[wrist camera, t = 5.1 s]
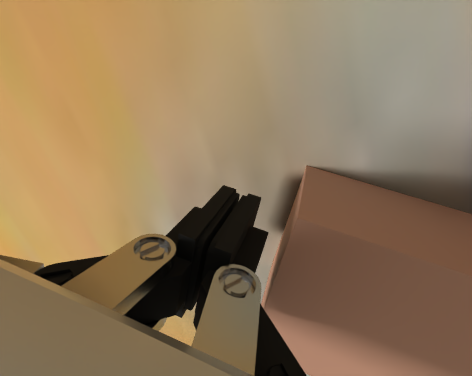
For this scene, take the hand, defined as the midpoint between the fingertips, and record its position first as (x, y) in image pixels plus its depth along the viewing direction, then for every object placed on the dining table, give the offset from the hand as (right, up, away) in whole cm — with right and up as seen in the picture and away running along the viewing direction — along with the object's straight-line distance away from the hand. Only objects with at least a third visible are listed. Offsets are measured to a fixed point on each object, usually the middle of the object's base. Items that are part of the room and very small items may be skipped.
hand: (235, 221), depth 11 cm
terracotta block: (+6, -1, +1) cm, 7 cm away
